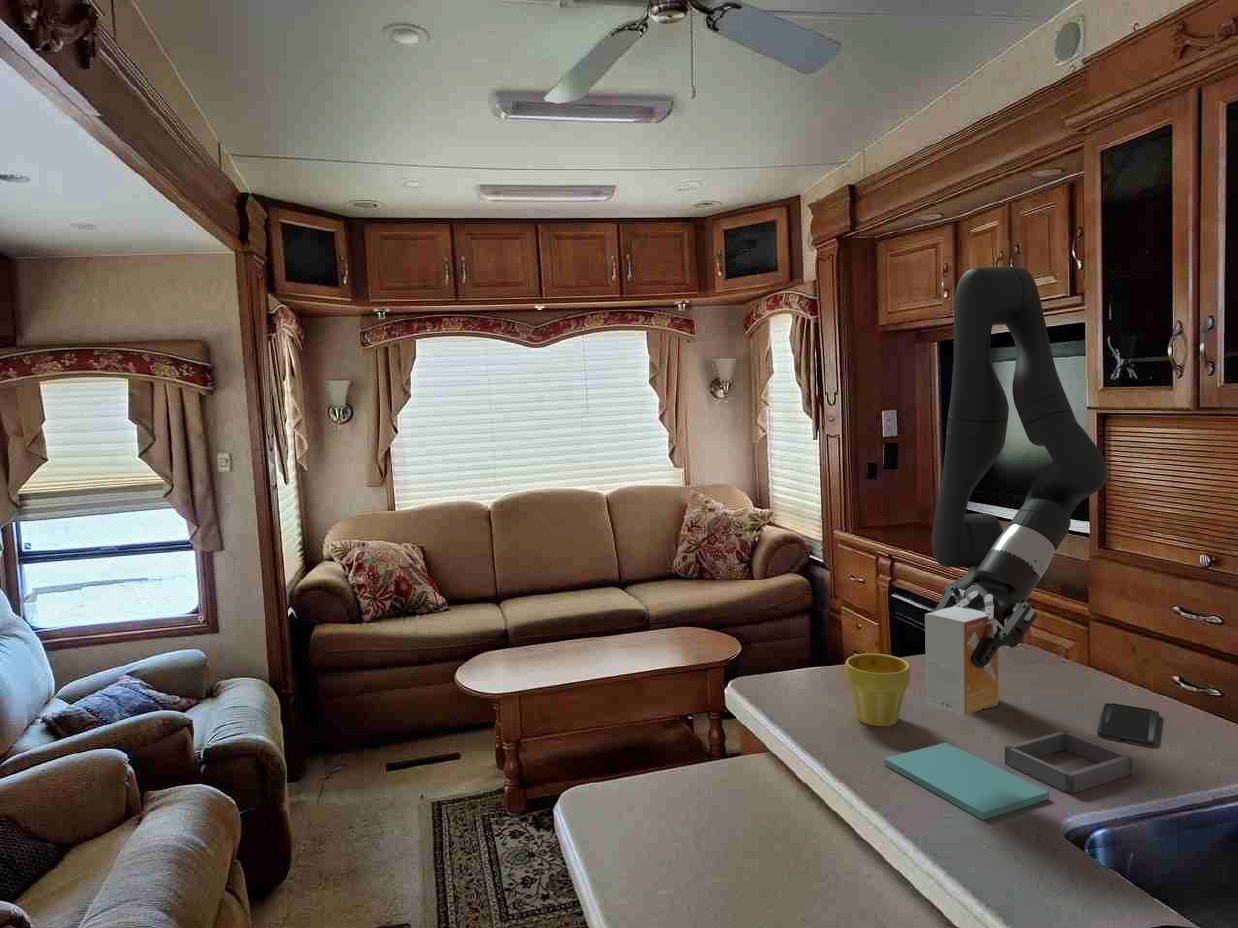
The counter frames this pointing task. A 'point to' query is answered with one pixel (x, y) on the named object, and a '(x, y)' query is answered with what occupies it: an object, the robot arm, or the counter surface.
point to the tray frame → (1070, 782)
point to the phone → (1129, 724)
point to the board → (966, 780)
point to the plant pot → (877, 687)
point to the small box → (958, 662)
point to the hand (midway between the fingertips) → (954, 656)
